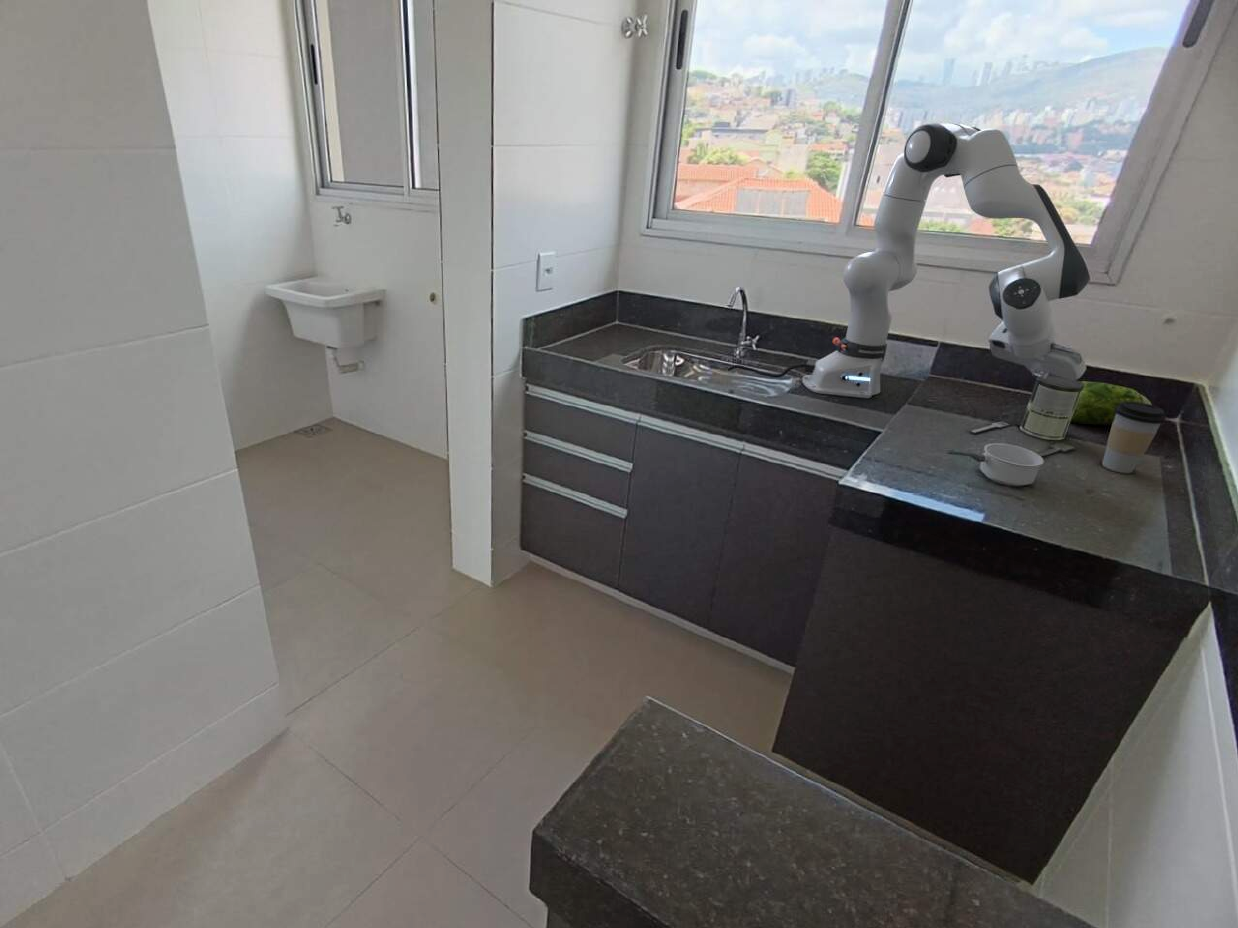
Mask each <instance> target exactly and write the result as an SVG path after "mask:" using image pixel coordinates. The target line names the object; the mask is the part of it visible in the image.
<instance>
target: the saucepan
mask: <svg viewBox="0 0 1238 928" xmlns="http://www.w3.org/2000/svg"><path fill="white" fill-rule="evenodd" d="M983 450H984V452H978V453H977V452H974V451H968V450H960V449H959V450H957V449H946V450H945V453H946V454H947V455H954V456H955V455H956V456H961V457H962V456H963V457H970V458H972V459H974V460H975V462H978V463H980V465H979V470H980V471H981V472H982V473H983V474H984V475H985V477H987V478H988V479H990V480H991V481H994V482H996V483H999V484H1003V485H1007V486H1012V487H1023V486H1025V485H1026V486H1027V485H1030V484H1031V485H1032V484H1033V483H1034V482H1035V481H1036V478H1037V475H1038V472H1039V470H1040V469H1039V468H1040V467H1041V465H1043V464H1044V457H1041V456H1039V455H1038V453H1036V452H1034V451H1032V450H1030V449H1027V448H1025V447H1021V446H1019V445H1014V444H1008V443H998V442H997V443H996V442H995V443H988V444H986V445H985V446H984V447H983Z"/></svg>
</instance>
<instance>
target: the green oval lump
mask: <svg viewBox="0 0 1238 928" xmlns="http://www.w3.org/2000/svg"><path fill="white" fill-rule="evenodd" d="M1081 382H1082V383H1083V384H1084V385H1085V386H1084V388H1083V390H1082V392H1081V395H1080V397H1079V400H1078V403H1077V405H1076V408H1075V411H1074V413H1073V416H1072V419H1071V421H1070V422H1072V423H1074V424H1080V425H1092V426H1093V425H1094V426H1112V423H1113V422H1114V419H1115V416H1116V413H1115V412H1114V409H1115V408H1116V406H1118V405H1120V404H1121V403H1122V402H1124V401H1135V402H1141V403H1146V404H1150V405H1152V403H1151V401H1150V400H1149V399H1148V398H1147V397H1146V396H1144V395H1142V394H1141V393H1139V392H1138V391H1136V390H1135V389H1132V388H1129V387H1126V386H1121V385H1116V384H1111V383H1107V382H1099V381H1098V382H1097V381H1085V380H1083V381H1081Z"/></svg>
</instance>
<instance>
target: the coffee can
mask: <svg viewBox="0 0 1238 928" xmlns="http://www.w3.org/2000/svg"><path fill="white" fill-rule="evenodd" d="M1084 386H1085V385H1084V384H1083V383H1082V381H1080V380H1079V379H1077V380H1075V381H1074V380H1070V379H1066V378H1063V377H1060V376H1056V375H1053V374H1048V376H1047V377H1046V378H1045V379H1042V378H1039V377H1036V379H1035V383H1034V387H1033V389H1032V392H1031V394H1030V397H1029V400H1028V404H1027V407H1026V410H1025V413H1024V415H1023V419H1022V421H1021V424H1020V426H1019V429H1020V430H1021V431H1022V432H1023V433H1025V434H1027V435H1028V436H1031V437H1035V438H1038V439H1041V440H1048V441H1062V440H1064V439H1065V438H1066V435H1067V431H1068V429H1069V427H1070V424H1071V422H1072V421H1071V419H1072V416H1073V413H1074V411H1075V408H1076V405H1077V403H1078V400H1079V397H1080V395H1081V392H1082V390H1083V388H1084Z"/></svg>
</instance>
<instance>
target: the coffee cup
mask: <svg viewBox="0 0 1238 928" xmlns="http://www.w3.org/2000/svg"><path fill="white" fill-rule="evenodd" d="M1114 412H1115V413H1116V416H1115V419H1114V422H1113V423H1112V425H1111V428H1110V432H1109V435H1108V438H1107V442H1106V448H1105V452H1104V456H1103V459H1102V466H1103V467H1104V468H1106V469H1108V470H1111V471H1113V472H1115V473H1116V472H1117V473H1121V474H1130V473H1131V474H1132V473H1133V472H1134V470H1135V468H1136V467H1137V465H1138V464H1139V461H1140V460H1141V458H1142V457H1143V455H1144V454H1145V453H1146V452H1147V450H1148V448H1149V447H1150V445H1151V443H1152V441H1153V439H1154V438H1155V436H1156V434H1157V433H1158V429H1159V428H1160V426H1161V424H1164V423H1165V422H1166V420H1167V416H1166V415H1165V410H1164V409H1162V408H1160V407H1158V406H1156V405H1153V404H1151V405H1150V404H1146V403H1141V402H1135V401H1124V402H1122V403H1121V404H1120V405H1118V406H1116V408H1115V409H1114Z"/></svg>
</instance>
